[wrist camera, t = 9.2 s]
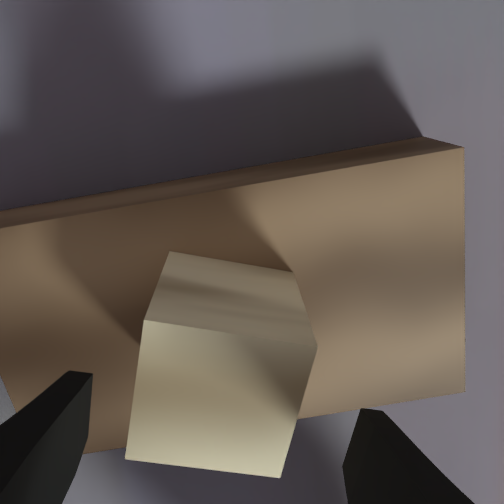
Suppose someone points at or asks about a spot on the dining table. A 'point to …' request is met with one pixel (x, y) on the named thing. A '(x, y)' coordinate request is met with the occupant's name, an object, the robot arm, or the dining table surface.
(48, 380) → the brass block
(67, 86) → the dining table surface
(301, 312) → the birch cube
